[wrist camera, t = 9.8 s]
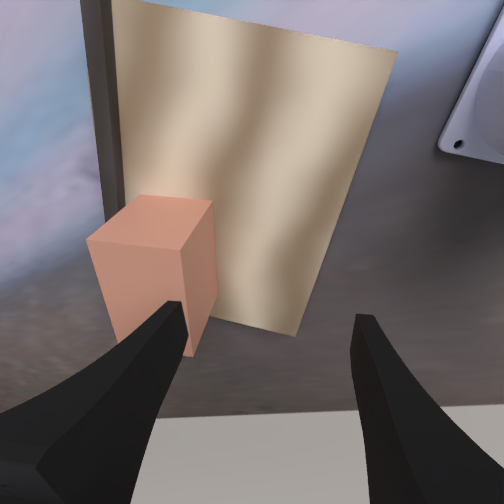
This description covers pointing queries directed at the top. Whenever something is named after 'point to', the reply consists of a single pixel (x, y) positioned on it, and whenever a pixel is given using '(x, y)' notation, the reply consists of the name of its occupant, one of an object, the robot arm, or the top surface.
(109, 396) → the robot arm
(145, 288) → the carton
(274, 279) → the shelf board
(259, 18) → the top surface
